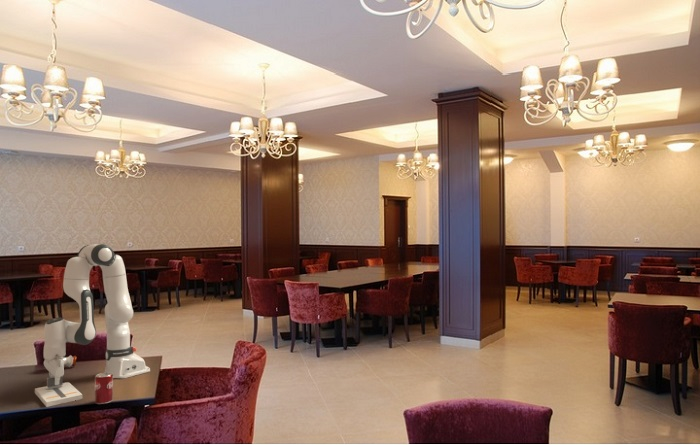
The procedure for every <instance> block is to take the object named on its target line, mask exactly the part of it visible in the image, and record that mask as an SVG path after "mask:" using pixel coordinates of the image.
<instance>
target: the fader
mask: <svg viewBox="0 0 700 445" xmlns="http://www.w3.org/2000/svg"><path fill="white" fill-rule="evenodd" d="M63 376H64V375H63ZM63 376H60V381H59V385H55V384H54V381H55V377H54V376H53V377H50V376H49V377H46V386H47V387H48V388H49V389H54V388H59V387H62V385H63V383H64V382H63V379H64V378H63Z"/></svg>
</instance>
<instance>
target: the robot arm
mask: <svg viewBox="0 0 700 445" xmlns="http://www.w3.org/2000/svg"><path fill="white" fill-rule="evenodd" d="M94 266H95V267H97V266H99V267H100V269H101V271H102V272H101V273H102V282H103V290H104V294H105V297H106V298H105V299H106V301H107V302H106V305H105V307H104V318H105V329H106V349H105V369H104V372H103V373H112V374H113V379H127V378H131V377H134V376H138V375H141V374H145V373H149V372H151V368H150V367H149V366H147V365H146V362H145V360H144V358H143V357H141V356H140V355H138V354H137V353H135V352H137V350H138V349H137V347H135V346H131V331H130V330H131V329H130V326H129V321H131V320H132V319H133V317H134V309H133V305H132V301H131V297H130V293H129V289H128V287H129V286H128V281H127V274H126V267H125V263H124V260H123V257H122V256H120V255H119V254H115V252H114V250H113V249H112V247H111V246H110V245H108V244H105V243H104V244H103V243H101V244H100V243H95V244H87V245H84V246H83V247H82V248H80V250H79V251H78V253H77V254H76V256H73V257H70V259H68V260H67V262H66V266H65V270H64V274H63V283H62V285H63V287H62V288H63V292H64V293H65V294H66V295H67V296H68V297H69V298H71V299H73V300H74V301H76V303H77V304H78V306H79V322H73V321H70V320H66V319H65V318H64V317H54V318H50V319H48V320H47V321H46V322H45V323H44V329H43V341H44V346H43V352H42V354H43V359H44V361H45V366H46V367H45V366H44V367H45V369H46V370H47V371H48V375H49V377H53V376H54V377H55V381H54V384H55V385H59V381H60V376H64V375H65V369H64V368H65V366H64V363H63V359H62V357H63V358H64V357H66V355H67V354H66V350H67V348H66V343H72V344H78V345H82V346H87V345H88V344H90V343H92V341H94V340H95V338H96V336H97V328H96V327H97V326H96V323H95V314H94V313H95V310H94V296H93V293H92V291H91V289H90V274H91V273H90V272H91V270H92V269H93V267H94Z"/></svg>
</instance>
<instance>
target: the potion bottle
mask: <svg viewBox="0 0 700 445" xmlns="http://www.w3.org/2000/svg"><path fill="white" fill-rule="evenodd" d="M62 359H63V363H64V367H65V366H67V368H71V367H73V368H75V366H76V364H77V356H76V355H74V356H72V355H71V354H70V355H69V356H64V357H62ZM43 365H44V368H46V366H45V360H44V361H43Z"/></svg>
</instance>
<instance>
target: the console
mask: <svg viewBox="0 0 700 445" xmlns="http://www.w3.org/2000/svg"><path fill="white" fill-rule="evenodd" d="M34 394H35V395H36V397H37V398H39V400H40V401H41V402H42V404H43V405H44V406H45V407H46V408H48V407H53V406H56V405H61V404H66V403H71V402H76V401H79V400H83V394H82V393H81V392H80V391H79V390H78V389H77V388H76V387H75V386H74V385H72V384H71V383H70V382H69V381H67V382H63V385H62V387H59V388H54V389H49V388H48V387H47V385H46V386H42V387H37V388H34ZM75 400H76V401H75Z"/></svg>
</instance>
